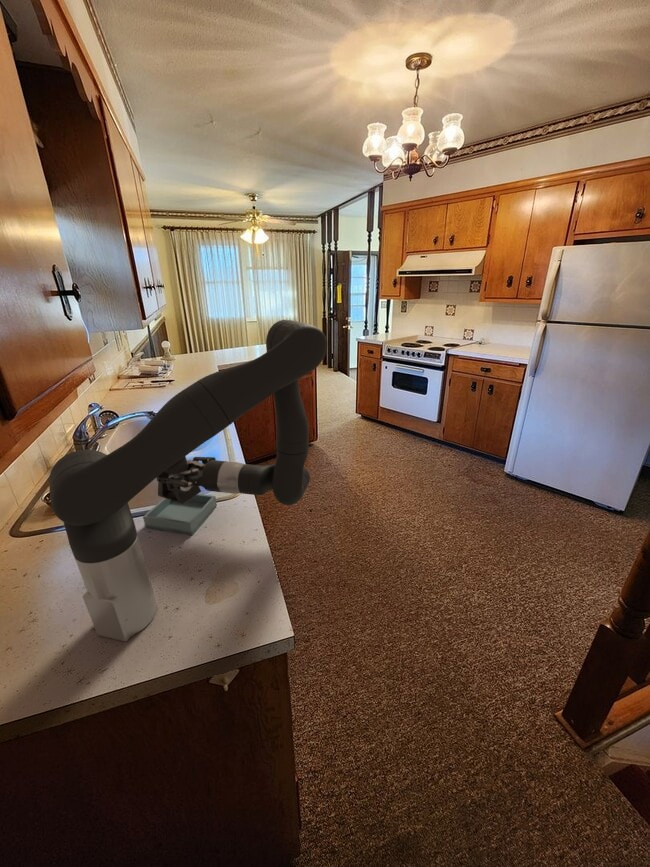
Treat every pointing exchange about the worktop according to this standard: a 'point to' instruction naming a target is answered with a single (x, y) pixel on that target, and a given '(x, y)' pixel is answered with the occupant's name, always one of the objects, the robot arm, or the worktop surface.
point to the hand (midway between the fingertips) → (166, 470)
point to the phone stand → (176, 469)
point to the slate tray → (180, 514)
